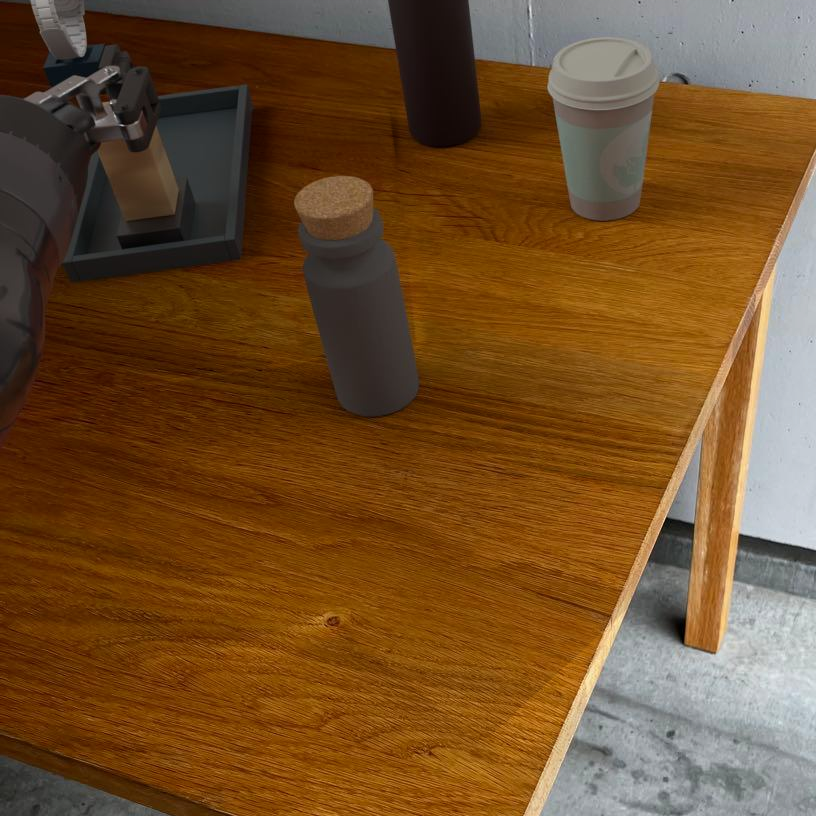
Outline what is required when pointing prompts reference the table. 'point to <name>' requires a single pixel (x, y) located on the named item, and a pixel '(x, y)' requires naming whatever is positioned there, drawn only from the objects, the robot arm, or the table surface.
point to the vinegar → (437, 69)
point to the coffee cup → (604, 122)
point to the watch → (66, 40)
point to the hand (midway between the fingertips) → (50, 68)
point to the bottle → (356, 297)
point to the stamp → (147, 194)
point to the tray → (189, 157)
